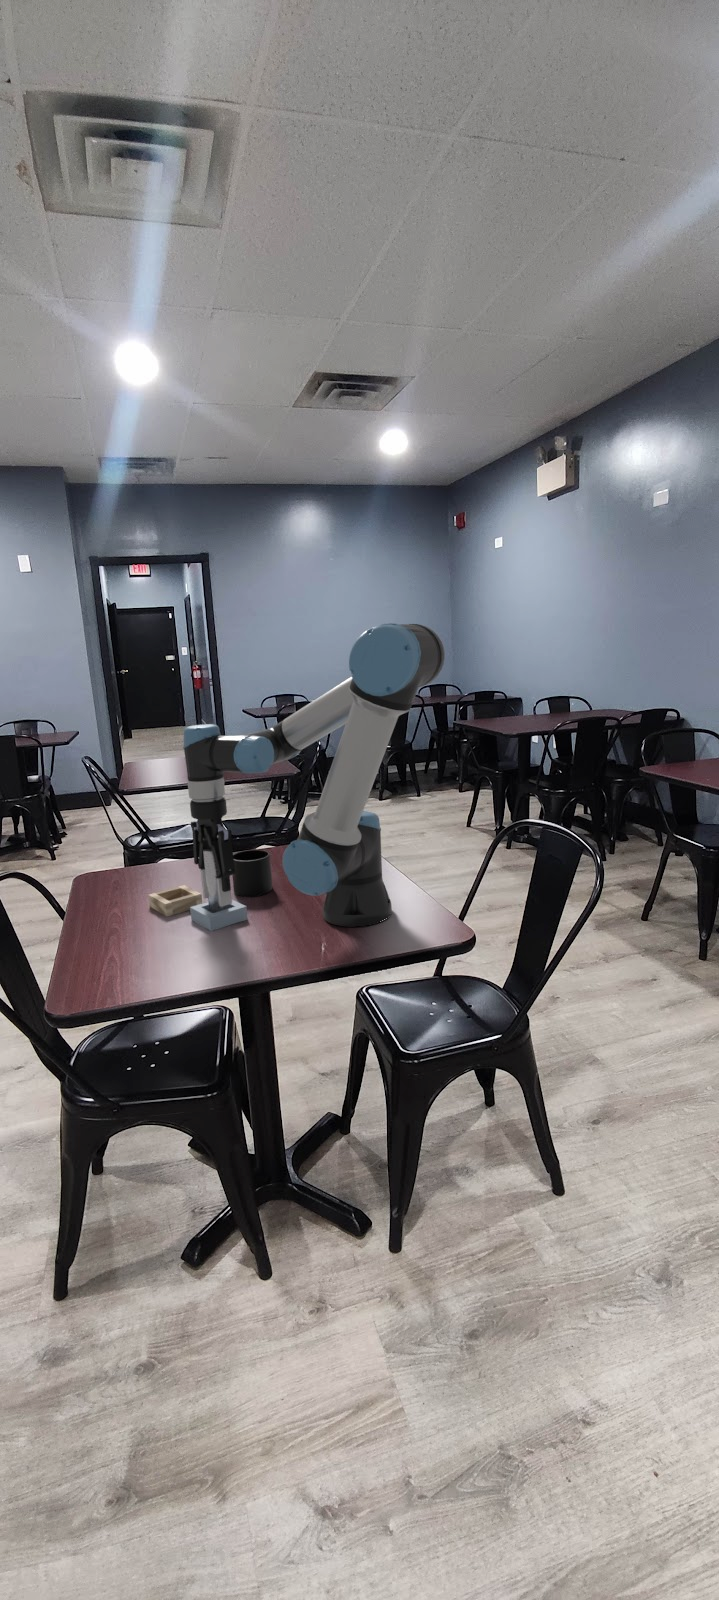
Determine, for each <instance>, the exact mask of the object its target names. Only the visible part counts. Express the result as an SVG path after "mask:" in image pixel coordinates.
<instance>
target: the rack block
mask: <svg viewBox="0 0 719 1600" xmlns="http://www.w3.org/2000/svg"><path fill="white" fill-rule="evenodd" d="M148 901H149V907H150V908H151V909H153V910H155V911H156V912H158V913H160V914H161V915H163V916H165V917H171V916H173V915H176V914H179V913H184V912H186V911H187V912H188V911H190V907H192V906H196V905H199V904H202V903H203V893H201V892H198V891H196V890H195V889H193V888H190V887H188V886H187V885H185V884H183V885H179V886H175V887H171V888H168V889H165V890H161V891H156V892H153V893H149V894H148Z"/></svg>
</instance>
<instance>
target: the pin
mask: <svg viewBox="0 0 719 1600" xmlns="http://www.w3.org/2000/svg"><path fill="white" fill-rule="evenodd" d="M203 854H204V864H205V874H206V884H207V894H208V898H207V902H208V904H209V911H210V912H211V913H216V912H219V911H223V910H226V909H228V907H227V905H225V906H222V907H221V906H219V897H218V887H217V878H216V876H219V875H218V871H217V867H216V863H215V859H214V855H213V851H212V848H207V849H205V850H203Z"/></svg>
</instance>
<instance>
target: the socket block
mask: <svg viewBox="0 0 719 1600" xmlns="http://www.w3.org/2000/svg"><path fill="white" fill-rule="evenodd" d="M227 907H228V909H226V910H223V911H219V912H216V913H211V912H210V911H209V904H208V901H207V902H202V904H199V905H196V906H192V907H190V910H189V911H190V919H191V921H192V922H195V923H196V924H198V925H199V926H201V927H203V928H204V929H206V930H209V931H210V932H213V931H215V930H219V929H222V928H225V927H228V926H232V925H234V924H237V923H240V922H243V921H246V920H248V918H249V917H248V909H247V905H244V904H242V903H240V902H238V901H237V900H234V899H232V904H229V905H227Z"/></svg>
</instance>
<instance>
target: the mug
mask: <svg viewBox="0 0 719 1600" xmlns="http://www.w3.org/2000/svg"><path fill="white" fill-rule="evenodd" d="M233 857H234V865H235V874H233V875H231V876H232V884H233V885H232V887H233V893H234V894H235V895H236V896H239V897H246V898H247V897H252V898H253V897H257V896H258V897H259V896H263V895H265V894H268V893H270V892H271V891H272V890H273V877H272V863H271V854H270V852H269V851H268V850H263V849H248V850H247V849H246V850H242V851H238V852H236V853H233Z"/></svg>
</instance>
